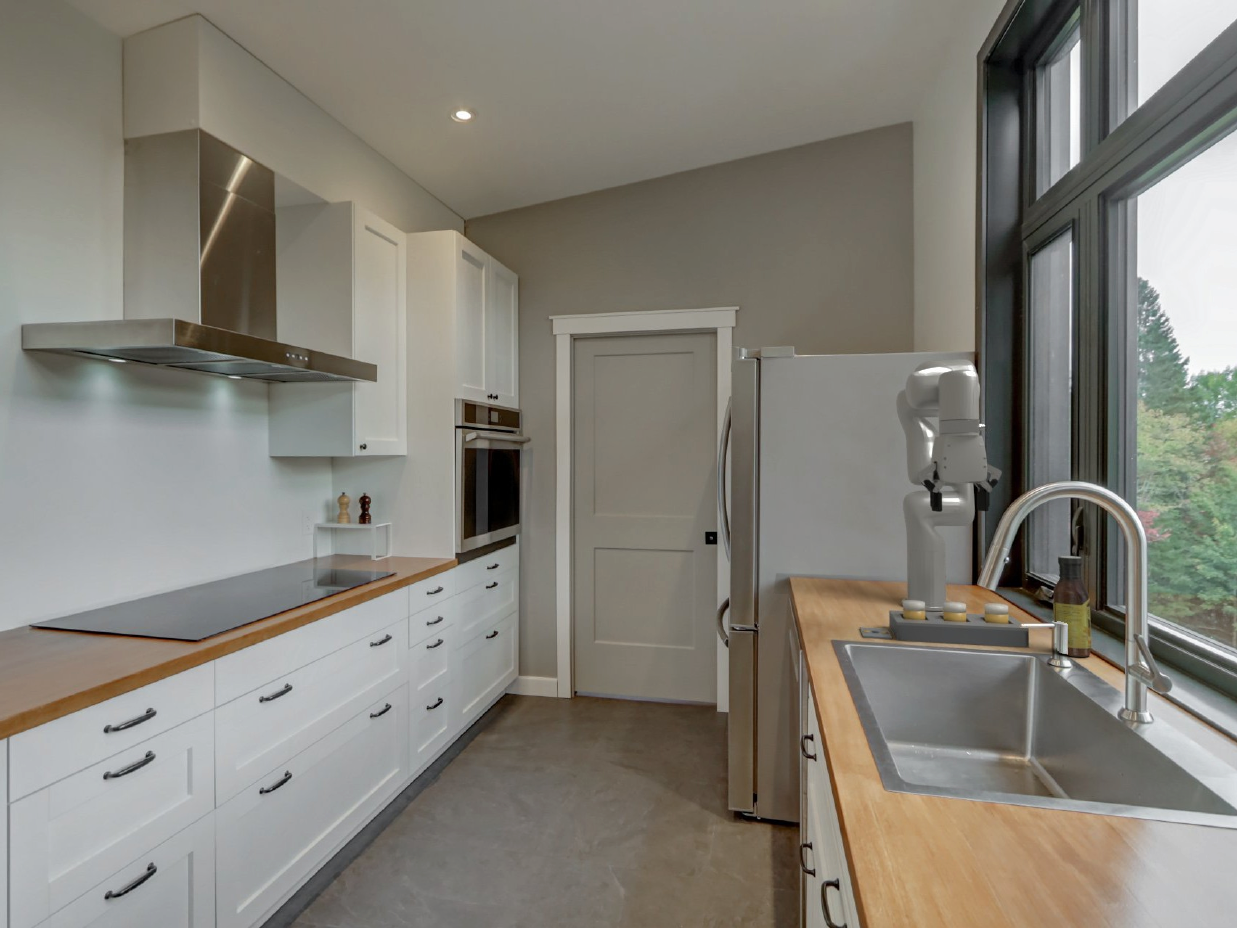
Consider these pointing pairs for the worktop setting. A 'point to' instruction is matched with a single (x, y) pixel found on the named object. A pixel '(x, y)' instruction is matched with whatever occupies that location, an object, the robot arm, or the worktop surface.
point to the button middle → (954, 611)
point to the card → (875, 633)
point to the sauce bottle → (1073, 605)
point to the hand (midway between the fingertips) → (959, 511)
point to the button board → (958, 630)
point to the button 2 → (996, 613)
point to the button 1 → (913, 610)
